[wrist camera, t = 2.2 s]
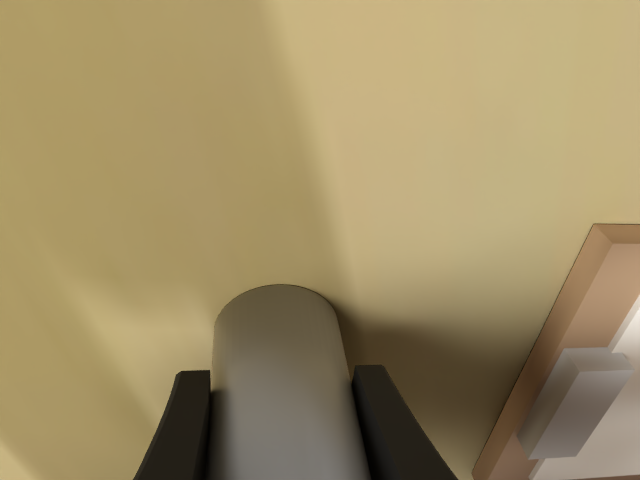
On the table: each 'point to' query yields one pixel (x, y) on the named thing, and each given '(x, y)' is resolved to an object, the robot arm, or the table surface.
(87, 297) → the table surface
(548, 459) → the clipboard
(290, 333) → the marker
